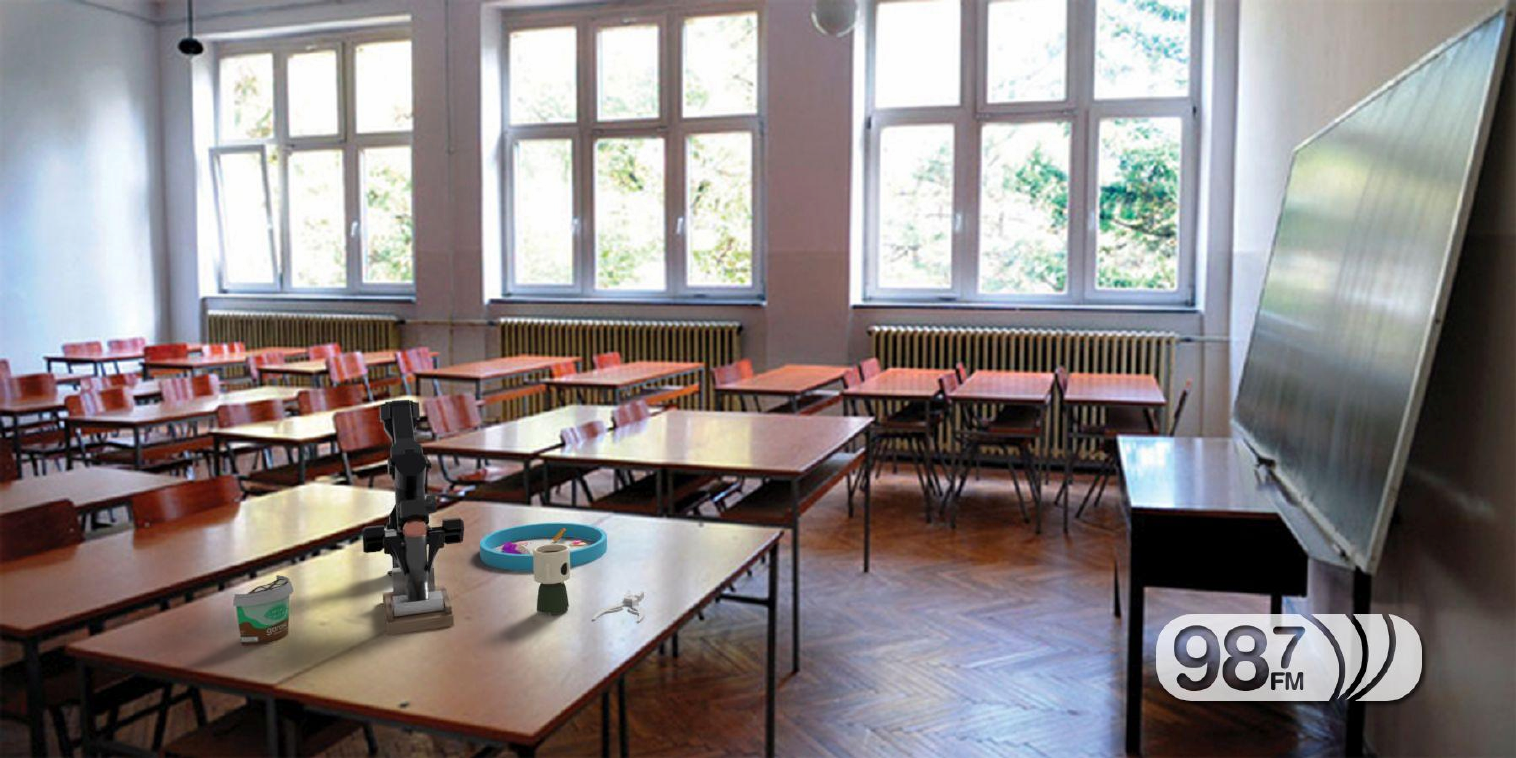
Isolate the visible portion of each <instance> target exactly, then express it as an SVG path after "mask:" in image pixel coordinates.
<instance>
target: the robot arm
mask: <svg viewBox="0 0 1516 758" xmlns="http://www.w3.org/2000/svg"><path fill="white" fill-rule="evenodd" d="M379 419H380V420H379V422H380V423H383V431H384V432H385V434H386V436H387V437H389V439H390V440H391V447H390V457H387V474H388V475H389V476H391V479H392V480H394V482H393V484H394V500H395V501H394V503H395V504H394V505H393V508H392V510H391V512H390V514H389V518H388V520H389V522H387V523H386V529H385V525H384V524H381V525H372V526H371V525H370V526H365V527H364V528H363V529H362V550H363V551H362V552H363V553H364V554H365V553H366V554H369V553H370V554H371V553H377V552H378V553H380V552H382V551H383V554H384V555H389V556H390V557H391V558H392V559H391V560H392V561H391V562H392V568H400V569H401V571H402V573H403V574H404V576H405V575H406V564H405V542H404V534H403V527H404V525H405V523H406V522H407V521H409V520H410V519H414V518H417V519H421V520H422V521H424V522H425V524H426V526H427V533H426V542H427V546H428V549H427V564H428V573H430V572H431V568H432V565H433V566H434V562H435V561H434V560H435V558H436V556H437V554H438V552H439V550H440V549H444V547H445V545H455V544H461V543H462V542H463V541H464V536H465V535H464V534H465V524H464V520H463V519H462V518H461V517H454V518H453V517H452V518H443V519H442V521H441V522H442V523H441V526H434V527H433V526H430V516H429V515H430V514H433V513H437V510H438V505H437V504H438V502H437V496H436V495H433V494H432V495H426V491H425V488H426V487H425V484H426V476H427V474H426V473H427V472H428V473H429V469H432V461H431V460H430V459H429V458H428V456H427V454H424V452H423V451H424V450H423V446H422V444H420V443H419V442H418V441H416V435H415V430H416V428H417V424H418V422H417V421H420V420H421V411H420V402H416V401H414V400H413V399H398V400H397V399H396V400H394V399H393V400H391V401H385V402H384V403H383V404H380V405H379ZM386 573H387V575H390V576H392V569H391V570H389V571H387V572H386Z"/></svg>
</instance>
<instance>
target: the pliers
mask: <svg viewBox="0 0 1516 758" xmlns="http://www.w3.org/2000/svg"><path fill="white" fill-rule="evenodd" d="M631 591H632V590H631V589H630V590H626V593H625V594H624V596H623V599H624V600H623V601H622V602H620V603H617V604H614V605H610V606H606V607H604V608H602V609H600V610H599V611H597V612H596V613H594V615H593V616H592V618H591V619H592V621H596V620H598V619H599V618H600V617H602V616H603V615H605V614H608V613H616V612H620V611H623V610H624V609H623V607H625V606H631V608H630V607H628V608H627V611H628V612H630V613H632V614H636V615H637V616H638V617H637V620H636V623H638V624H640V623H641V622H642V621H643V620H644V619H645V616H646V611H645V609H644V608H643V607H642V606H640V605H639V603H640V602H641V601H642V600H643V599H644V597H645V592H644V591H642V590H641V591H639V592H638V593H636V594H635V595H632V592H631Z"/></svg>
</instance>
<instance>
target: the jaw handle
mask: <svg viewBox="0 0 1516 758" xmlns="http://www.w3.org/2000/svg"><path fill="white" fill-rule="evenodd" d="M426 533H427V526H426V524H425V522H424V521H422V520H421V519H417V518H414V519H410V520H409V521H407V522H406V523H405V525H404V527H403V534H404V542H405V564H406V586H407V595H400V596H393V611H394V617H395V616H403V615H410V614H418V613H425V612H433V611H440V610H444V603H443V596H442V592H441V591H433V592H429V588H428V565H427V564H428V548H427V547H428V545H427V542H426Z"/></svg>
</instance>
